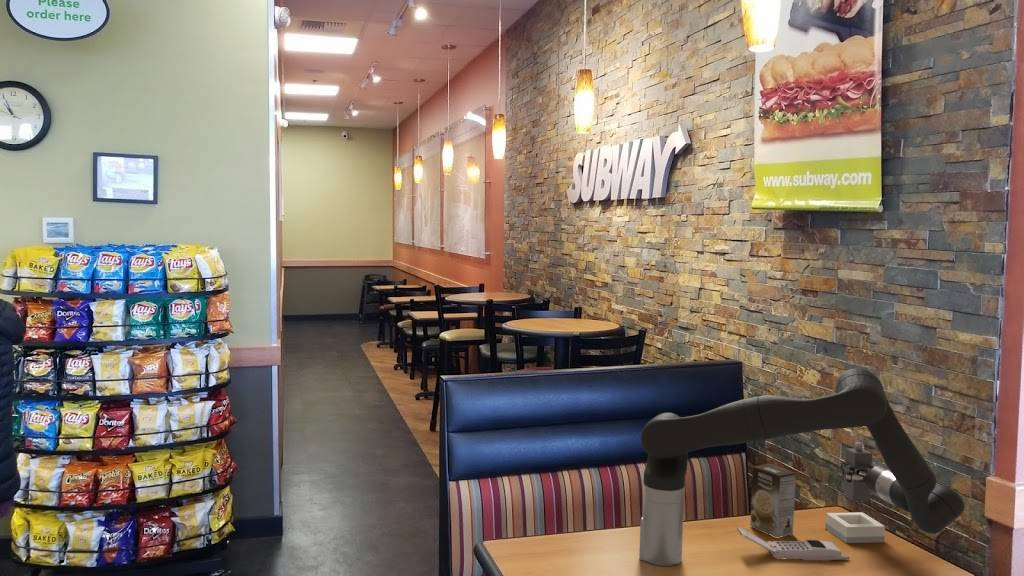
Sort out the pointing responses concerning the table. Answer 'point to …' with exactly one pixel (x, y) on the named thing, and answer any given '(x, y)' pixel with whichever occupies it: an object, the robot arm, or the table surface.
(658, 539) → the robot arm
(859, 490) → the plug
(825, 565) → the table surface
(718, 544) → the table surface
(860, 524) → the socket block
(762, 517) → the coffee box
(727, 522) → the table surface
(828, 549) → the mobile phone
